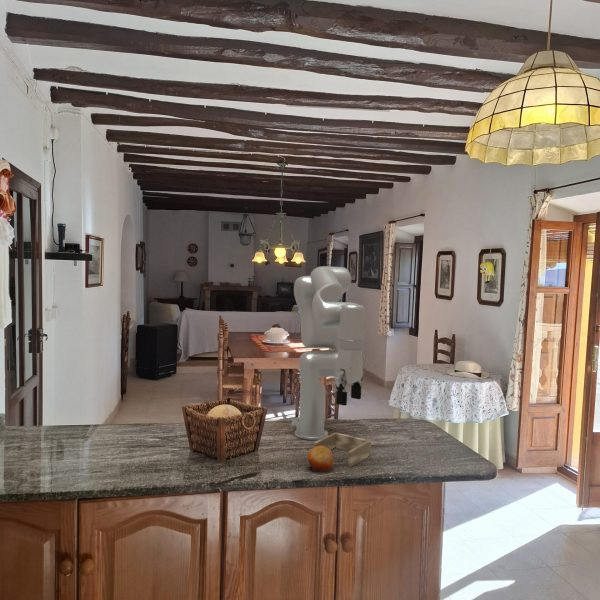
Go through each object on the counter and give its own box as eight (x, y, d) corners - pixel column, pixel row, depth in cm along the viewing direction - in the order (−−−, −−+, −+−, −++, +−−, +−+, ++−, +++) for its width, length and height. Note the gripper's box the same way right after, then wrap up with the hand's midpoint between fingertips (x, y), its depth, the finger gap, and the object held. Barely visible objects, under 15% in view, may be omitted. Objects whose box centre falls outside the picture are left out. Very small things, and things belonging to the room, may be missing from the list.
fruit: (328, 457, 166) (332, 440, 161) (332, 478, 159) (336, 461, 155) (303, 457, 164) (307, 441, 160) (307, 478, 158) (310, 462, 154)
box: (313, 457, 169) (313, 442, 169) (334, 446, 181) (335, 432, 180) (350, 467, 161) (351, 452, 161) (370, 455, 173) (370, 440, 173)
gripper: (352, 341, 163) (350, 394, 164) (326, 346, 148) (324, 405, 149) (374, 343, 159) (371, 398, 160) (349, 349, 145) (347, 409, 145)
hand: (348, 401), depth 155 cm, fingers open, 9 cm apart
